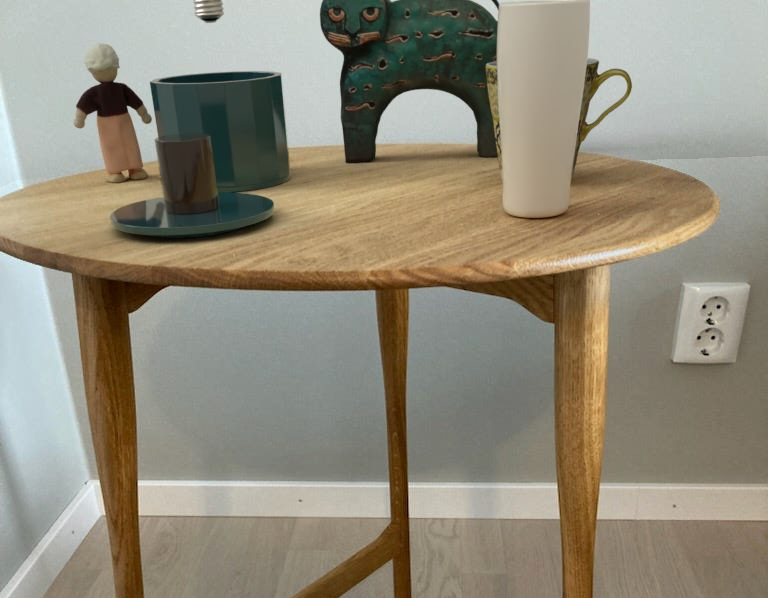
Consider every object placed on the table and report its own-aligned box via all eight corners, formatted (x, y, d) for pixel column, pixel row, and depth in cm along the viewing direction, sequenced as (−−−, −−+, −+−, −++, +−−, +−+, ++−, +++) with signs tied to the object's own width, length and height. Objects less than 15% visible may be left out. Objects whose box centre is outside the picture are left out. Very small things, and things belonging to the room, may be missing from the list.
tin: (142, 191, 89) (125, 84, 84) (204, 168, 99) (191, 72, 94) (257, 194, 85) (245, 83, 81) (309, 170, 95) (301, 70, 91)
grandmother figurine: (147, 171, 99) (125, 40, 92) (164, 175, 96) (143, 40, 90) (80, 182, 95) (52, 46, 88) (95, 187, 92) (68, 46, 86)
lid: (78, 239, 72) (60, 150, 69) (166, 204, 83) (153, 125, 80) (229, 247, 68) (218, 152, 65) (300, 208, 79) (293, 125, 76)
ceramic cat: (328, 165, 98) (313, -55, 88) (333, 155, 103) (320, -52, 93) (515, 158, 97) (521, -65, 87) (510, 148, 102) (515, -62, 92)
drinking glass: (589, 206, 75) (604, -2, 68) (559, 224, 70) (571, 1, 63) (513, 201, 78) (519, 1, 71) (479, 218, 73) (482, 4, 66)
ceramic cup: (472, 188, 84) (473, 67, 79) (496, 168, 92) (499, 58, 87) (617, 192, 80) (628, 65, 75) (629, 171, 88) (639, 55, 83)
